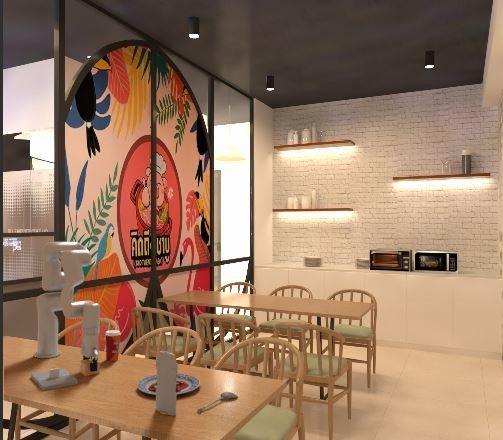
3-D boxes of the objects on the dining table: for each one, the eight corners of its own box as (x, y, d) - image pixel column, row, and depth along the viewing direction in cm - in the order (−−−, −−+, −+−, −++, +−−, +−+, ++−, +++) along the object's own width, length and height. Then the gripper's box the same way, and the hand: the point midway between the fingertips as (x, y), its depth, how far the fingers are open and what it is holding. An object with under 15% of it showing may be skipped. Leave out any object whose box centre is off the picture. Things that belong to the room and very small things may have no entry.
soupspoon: (241, 399, 185) (228, 396, 189) (241, 391, 186) (228, 388, 189) (205, 415, 167) (191, 411, 171) (205, 405, 168) (191, 402, 171)
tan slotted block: (80, 372, 212) (80, 360, 212) (94, 369, 216) (94, 357, 216) (84, 375, 207) (85, 363, 207) (99, 373, 211) (99, 361, 211)
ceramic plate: (188, 402, 179) (188, 394, 179) (126, 396, 184) (126, 389, 184) (207, 380, 204) (207, 374, 204) (152, 376, 209) (152, 369, 209)
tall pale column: (180, 414, 167) (181, 352, 168) (172, 417, 164) (173, 355, 164) (159, 407, 173) (160, 347, 174) (151, 410, 170) (152, 350, 170)
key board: (30, 377, 204) (31, 365, 204) (64, 371, 212) (64, 360, 212) (42, 390, 188) (43, 378, 188) (78, 383, 197) (78, 372, 197)
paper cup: (117, 362, 229) (118, 333, 229) (102, 361, 229) (102, 333, 229) (122, 357, 236) (122, 329, 237) (107, 357, 237) (107, 329, 237)
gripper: (76, 328, 216) (75, 365, 216) (89, 335, 203) (88, 375, 202) (92, 326, 221) (91, 362, 221) (105, 333, 207) (105, 371, 207)
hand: (90, 368), depth 212 cm, fingers open, 9 cm apart
